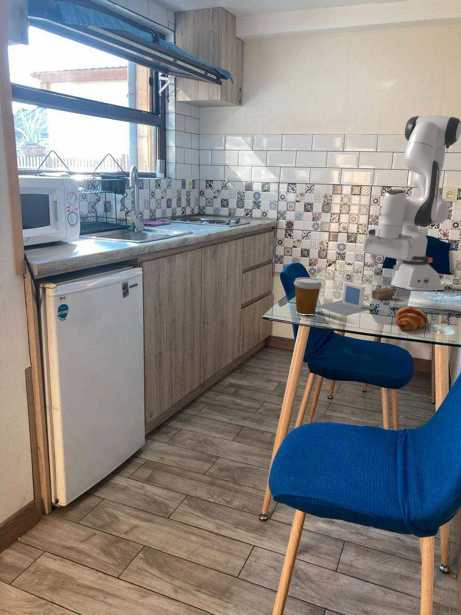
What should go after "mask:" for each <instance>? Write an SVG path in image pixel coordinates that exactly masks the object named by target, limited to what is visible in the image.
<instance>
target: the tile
mask: <svg viewBox="0 0 461 615" xmlns="http://www.w3.org/2000/svg"><path fill="white" fill-rule="evenodd" d="M365 290H366V286H365V285H362V284H356V283H353V282H348V281H345V282H344V286H343V294H342V300H343V302H342V303H343V304H346V305H350V306H354V307H357V308H363V305H364V300H365V299H364V298H365V292H366V291H365Z"/></svg>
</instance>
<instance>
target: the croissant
mask: <svg viewBox="0 0 461 615" xmlns="http://www.w3.org/2000/svg"><path fill="white" fill-rule="evenodd" d="M428 321H429V319H428V316H427V314H426V313H425V312H423V311H422V310H420V309H419V308H417V307H413V306H405V307H400V308H399V309H398V310H397V312H396V314H395V323H396V325H397V327H398V328H399V329H400V330H403V331H404V330H405V331H415V330H418V329H421V328H422V327H424V326H426V324H428Z"/></svg>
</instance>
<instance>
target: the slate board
mask: <svg viewBox="0 0 461 615" xmlns="http://www.w3.org/2000/svg"><path fill="white" fill-rule="evenodd" d="M342 302H343V299H342V300H338V301H332V302H328V303H323V304H317V305H316V308H318V309H322V310H326V311H329V312H331V313H336V314H338V315H342V316H345V317H346V316H351V315H354V314H359V313H362V312H366V311H370V310H374V309H376V307H373V306H369V305H367V304H363V308H357V307H354V306H350V305H346V304H343V303H342Z"/></svg>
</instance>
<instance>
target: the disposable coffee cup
mask: <svg viewBox="0 0 461 615" xmlns="http://www.w3.org/2000/svg"><path fill="white" fill-rule="evenodd" d="M293 284H294V289H295V291H294V292H295V311H297V312H298V313H301V314H314V313H316V310H317V309H316V308H317V307H316V306H318V299H319V295H320V289H321V288H322V285H323V284H322V281H321V279H318V278H314V277H305V276H304V277H303V276H302V277H297V278H295V280H294V282H293ZM314 315H315V314H314Z"/></svg>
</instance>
